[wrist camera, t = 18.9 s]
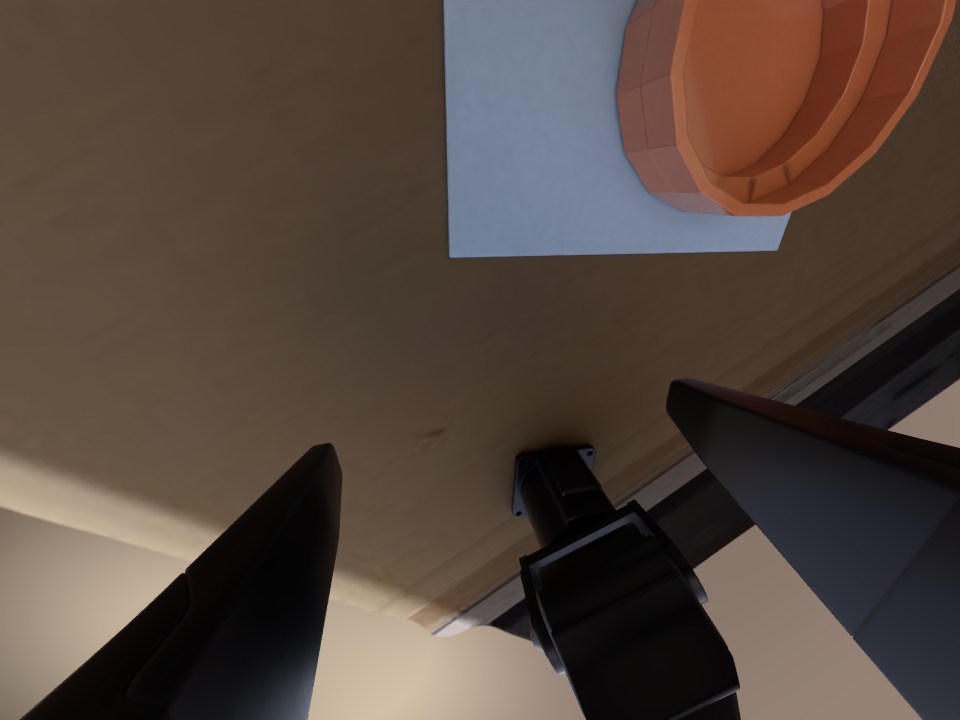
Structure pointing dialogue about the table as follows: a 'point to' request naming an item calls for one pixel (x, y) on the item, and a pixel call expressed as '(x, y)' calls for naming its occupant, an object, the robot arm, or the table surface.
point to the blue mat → (556, 140)
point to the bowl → (767, 95)
